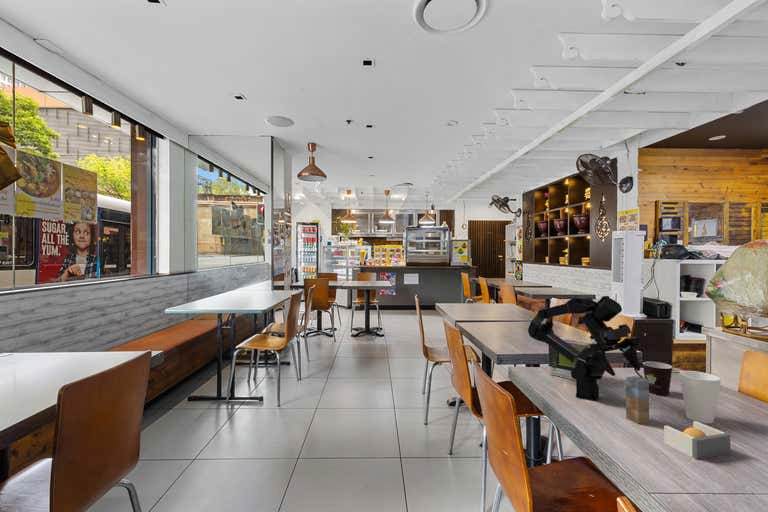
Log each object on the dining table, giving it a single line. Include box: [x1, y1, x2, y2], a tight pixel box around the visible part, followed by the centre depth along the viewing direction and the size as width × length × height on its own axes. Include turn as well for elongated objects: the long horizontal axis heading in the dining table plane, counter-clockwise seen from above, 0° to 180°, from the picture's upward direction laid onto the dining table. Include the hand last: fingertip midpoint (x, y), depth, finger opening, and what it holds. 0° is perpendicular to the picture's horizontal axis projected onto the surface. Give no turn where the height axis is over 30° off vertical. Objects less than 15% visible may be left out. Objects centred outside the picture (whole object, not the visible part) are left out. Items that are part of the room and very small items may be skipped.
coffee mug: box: [633, 361, 673, 397], centre depth 133 cm, size 12×9×10 cm
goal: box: [663, 420, 731, 460], centre depth 94 cm, size 8×11×4 cm
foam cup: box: [679, 370, 722, 424], centre depth 111 cm, size 10×9×13 cm
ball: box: [682, 427, 706, 438], centre depth 94 cm, size 5×5×5 cm
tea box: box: [548, 336, 596, 381], centre depth 151 cm, size 15×10×15 cm
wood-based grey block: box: [625, 375, 650, 425], centre depth 110 cm, size 4×4×12 cm
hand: (626, 372), depth 115 cm, fingers open, 9 cm apart
